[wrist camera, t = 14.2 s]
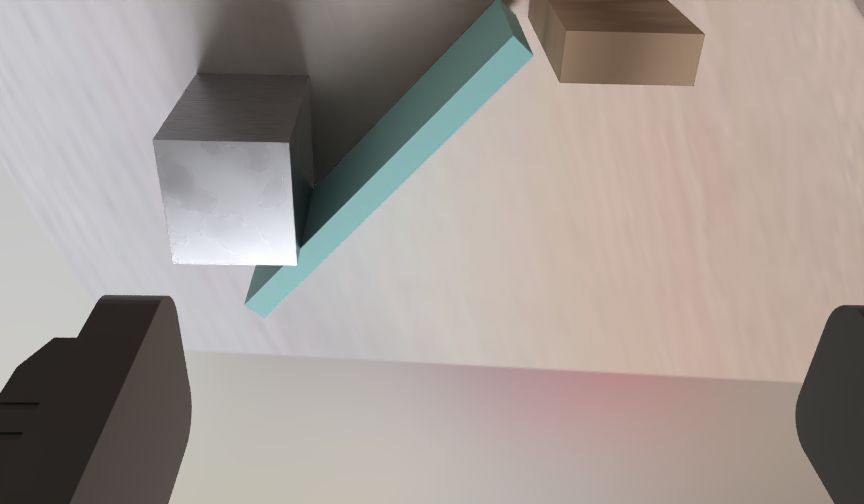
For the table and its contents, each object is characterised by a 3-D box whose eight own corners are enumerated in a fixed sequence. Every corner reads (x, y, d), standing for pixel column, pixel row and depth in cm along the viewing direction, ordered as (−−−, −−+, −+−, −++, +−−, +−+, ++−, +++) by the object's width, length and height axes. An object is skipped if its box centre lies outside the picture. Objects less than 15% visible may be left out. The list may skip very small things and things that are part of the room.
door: (498, -3, 36) (513, 35, 31) (515, 15, 37) (533, 55, 32) (263, 240, 43) (244, 304, 38) (280, 253, 44) (264, 318, 38)
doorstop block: (309, 76, 39) (288, 142, 32) (314, 183, 42) (297, 265, 35) (196, 73, 39) (152, 139, 32) (210, 182, 42) (173, 263, 35)
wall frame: (642, -23, 37) (704, 34, 29) (635, 20, 38) (693, 85, 30) (532, -26, 36) (566, 30, 29) (528, 17, 38) (559, 82, 30)
